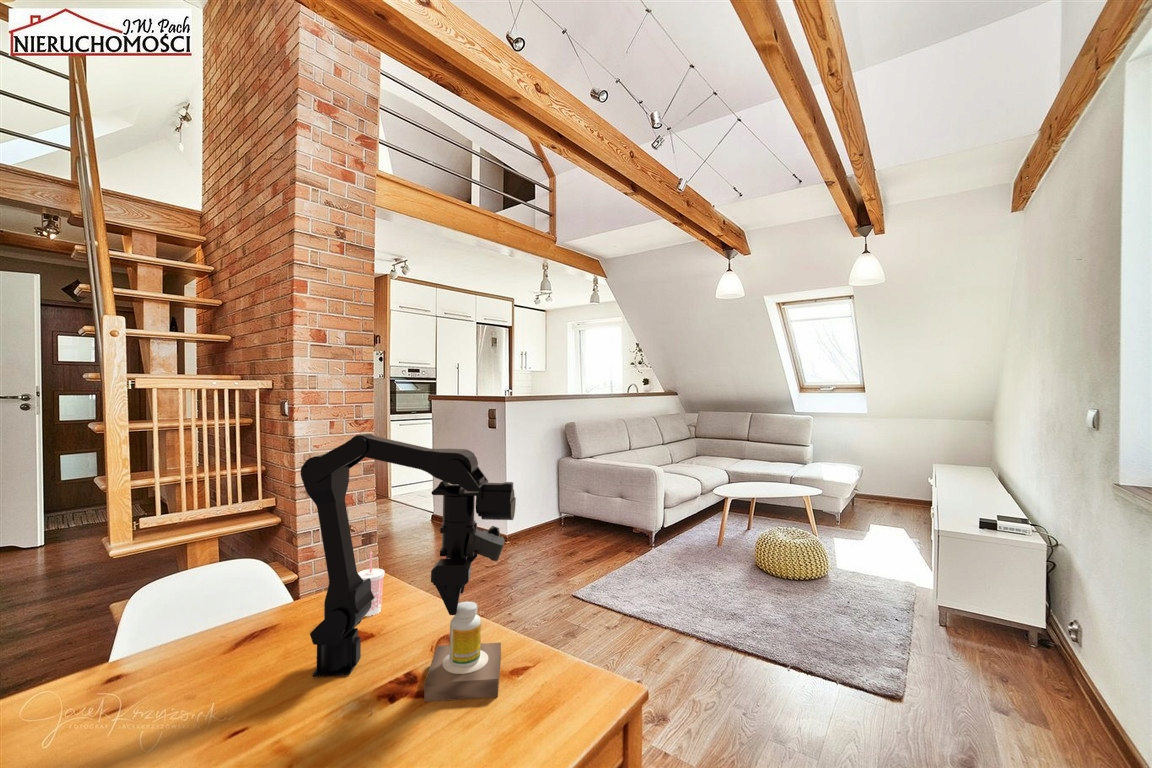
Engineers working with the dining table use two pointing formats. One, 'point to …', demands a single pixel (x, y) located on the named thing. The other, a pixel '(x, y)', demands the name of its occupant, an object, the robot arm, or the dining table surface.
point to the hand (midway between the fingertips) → (456, 603)
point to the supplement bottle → (465, 635)
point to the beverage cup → (374, 586)
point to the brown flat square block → (463, 675)
